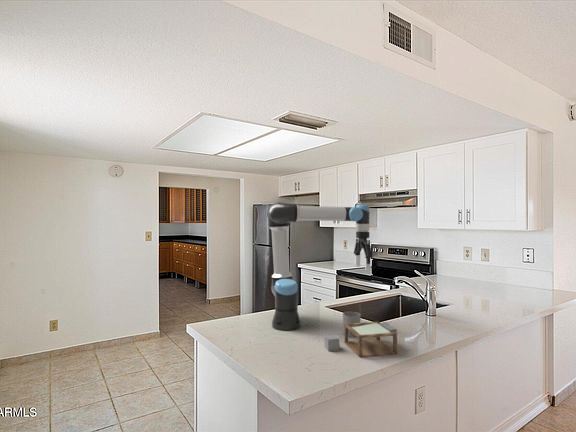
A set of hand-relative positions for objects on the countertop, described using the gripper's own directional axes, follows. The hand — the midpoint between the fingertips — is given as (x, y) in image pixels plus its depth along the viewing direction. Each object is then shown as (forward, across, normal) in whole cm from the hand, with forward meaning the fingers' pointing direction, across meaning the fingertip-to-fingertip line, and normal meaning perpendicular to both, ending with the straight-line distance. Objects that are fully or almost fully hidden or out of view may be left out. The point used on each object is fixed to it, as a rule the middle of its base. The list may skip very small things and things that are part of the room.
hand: (362, 268), depth 204 cm
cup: (+27, -31, +20) cm, 46 cm away
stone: (+27, -46, +35) cm, 63 cm away
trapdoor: (+20, -49, +17) cm, 56 cm away
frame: (+27, -49, +19) cm, 59 cm away
